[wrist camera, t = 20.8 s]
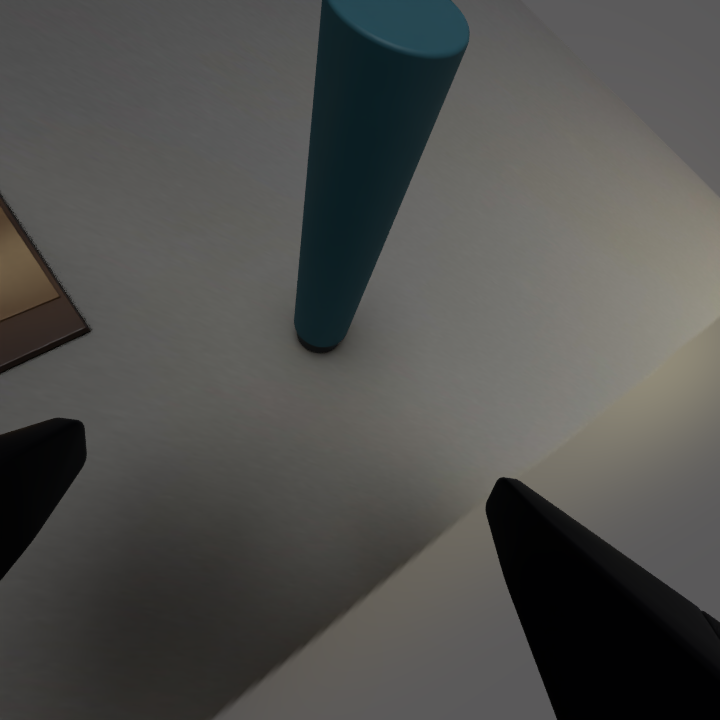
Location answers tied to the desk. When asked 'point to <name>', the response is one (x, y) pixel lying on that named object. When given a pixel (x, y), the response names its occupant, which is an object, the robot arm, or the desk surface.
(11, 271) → the wooden board
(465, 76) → the desk surface
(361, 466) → the desk surface
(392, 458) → the desk surface
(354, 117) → the cylinder
